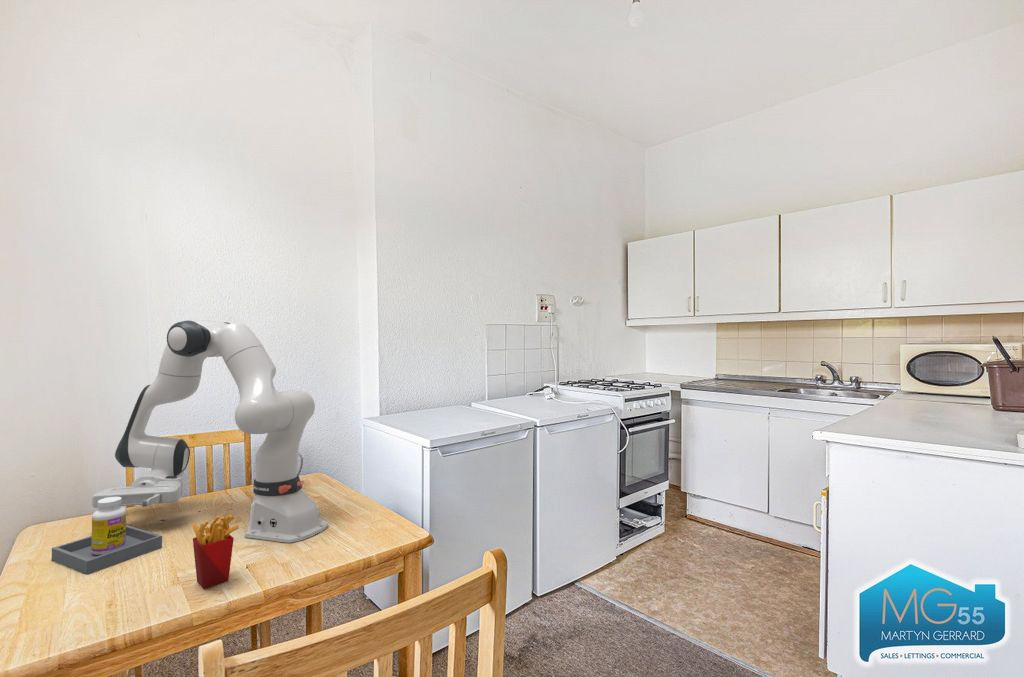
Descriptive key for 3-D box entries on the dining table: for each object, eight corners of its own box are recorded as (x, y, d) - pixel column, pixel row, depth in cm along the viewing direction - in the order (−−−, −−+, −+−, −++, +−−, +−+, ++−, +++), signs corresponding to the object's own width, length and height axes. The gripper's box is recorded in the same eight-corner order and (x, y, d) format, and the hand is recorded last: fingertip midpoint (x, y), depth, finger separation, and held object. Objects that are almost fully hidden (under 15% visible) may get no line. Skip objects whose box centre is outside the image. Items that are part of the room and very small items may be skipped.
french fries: (190, 581, 107) (191, 515, 107) (231, 569, 113) (232, 505, 113) (203, 596, 101) (203, 525, 101) (245, 582, 108) (246, 515, 108)
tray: (162, 547, 125) (162, 535, 125) (86, 574, 110) (86, 561, 110) (127, 536, 131) (127, 525, 131) (51, 560, 117) (51, 547, 117)
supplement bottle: (105, 557, 117) (106, 505, 117) (84, 554, 118) (84, 502, 118) (132, 546, 123) (133, 496, 123) (111, 543, 125) (112, 494, 125)
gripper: (107, 480, 139) (78, 496, 125) (187, 476, 144) (168, 490, 131) (107, 502, 139) (78, 520, 125) (187, 497, 144) (168, 513, 131)
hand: (124, 505), depth 128 cm, fingers open, 8 cm apart
